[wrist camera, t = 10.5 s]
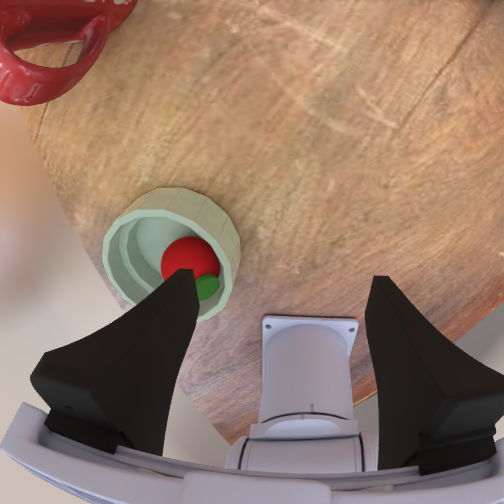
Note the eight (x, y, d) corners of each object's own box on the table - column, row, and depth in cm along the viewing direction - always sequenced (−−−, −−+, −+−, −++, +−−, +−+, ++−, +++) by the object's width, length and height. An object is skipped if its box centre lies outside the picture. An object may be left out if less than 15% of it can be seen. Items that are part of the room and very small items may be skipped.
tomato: (204, 256, 25) (234, 294, 22) (158, 278, 23) (183, 320, 21) (199, 216, 22) (232, 255, 19) (146, 239, 20) (172, 283, 18)
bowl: (243, 293, 25) (236, 329, 22) (140, 285, 26) (121, 316, 23) (238, 184, 20) (227, 210, 17) (116, 186, 21) (87, 210, 18)
